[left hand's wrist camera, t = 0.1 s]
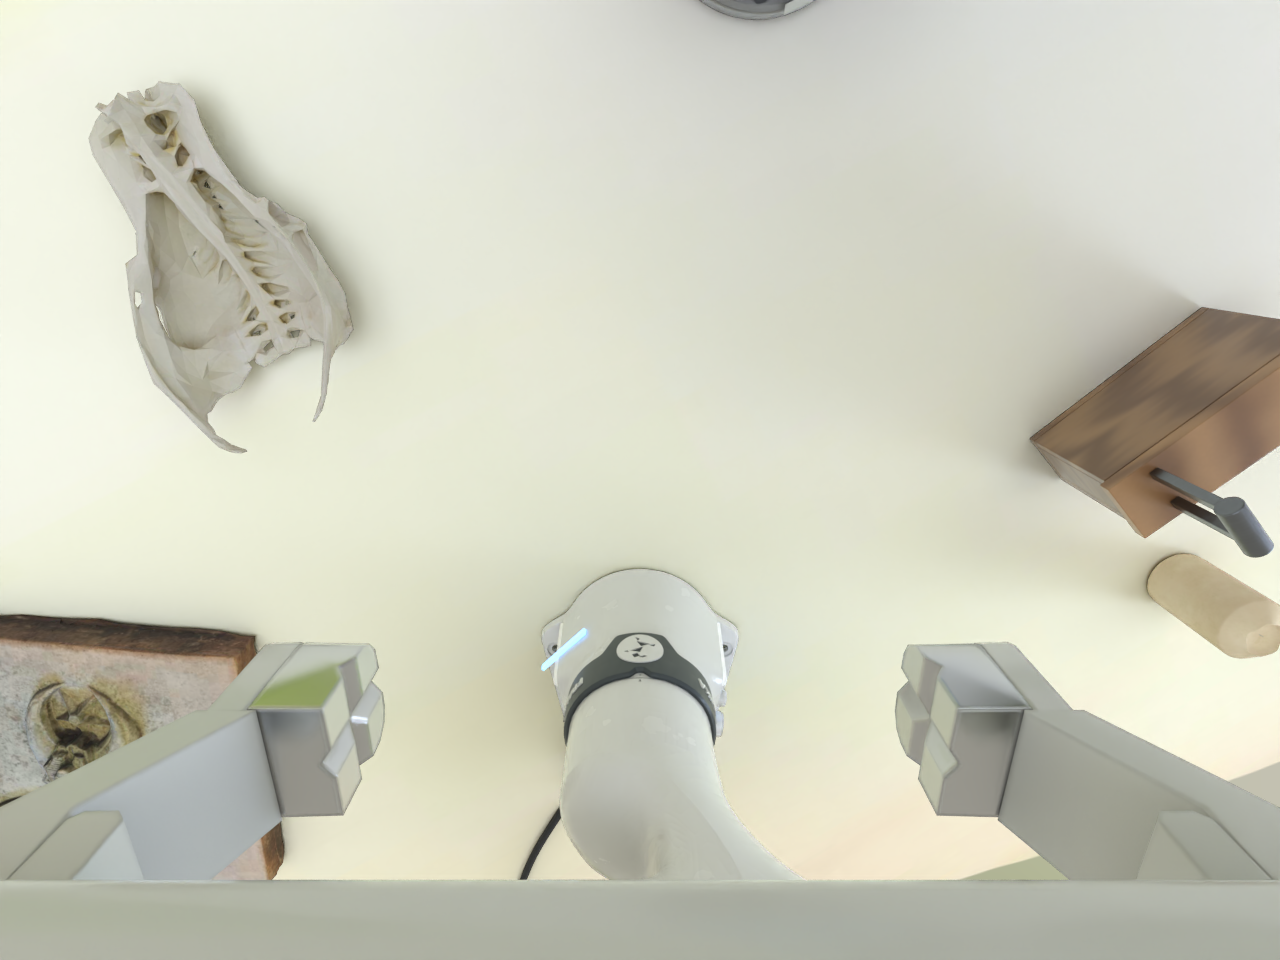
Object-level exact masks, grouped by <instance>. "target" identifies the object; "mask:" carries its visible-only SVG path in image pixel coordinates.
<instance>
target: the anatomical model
mask: <svg viewBox="0 0 1280 960" xmlns="http://www.w3.org/2000/svg"><path fill="white" fill-rule="evenodd" d="M127 94H128V98H129V99H127V98H126V97H124V96H122V95H121V94H119V93H117V95H116V97H115V99H114V100H112V102H111V103H110V104H109V105H108V106H106V105H104V104H101V103H98V104H97V105H96V108H97V109H98V110H100V111H101V112H102V113H101V114H100V115H99V117H98V118H97V120H96V121H95V124H94V126H93V129H92V131H91V134H90V136H89V142H90V146H91V150H92V154H93V156H94V158H95V160H96V161H97V163H98V165H99V166H100V168H101V170H102V171H103V173H104V175H105V176H106V178H107V180H108V181H109V183H110V185H111V186H112V188H113V190H114V192H115V193H116V195H117V197H118V198H119V200H120V202H121V204H122V205H123V207H124V209H125V211H126V212H127V214H128V216H129V218H130V220H131V222H132V224H133V226H134V228H135V230H136V239H137V255H136V256H135V257H134V258H132V259H131V260H130V261H128V262H127V263H126V270H127V278H128V289H129V295H130V302H131V308H132V314H133V320H134V326H135V331H136V337H137V340H138V343H139V346H140V349H141V351H142V354H143V357H144V360H145V363H146V365H147V368H148V371H149V373H150V376H151V378H152V381H153V383H154V384H155V385H156V386H157V387H158V388H159V389H160V390H161V391H162V392H163V393H165V394H166V395H167V396H168V397H169V398H170V399H171V400H172V401H173V402H174V403H175V404H176V405H177V406H178V407H179V408H180V409H181V410H182V411H183V412H184V413H185V414H186V415H187V416H188V417H189V418H190V419H191V420H192V421H193V422H194V423H195V424H196V425H197V427H198V428H199V429H200V430H201V431H202V432H203V433H204V434H205V435H206V436H207V437H208V438H210V439H211V440H212V441H213V442H214V443H215V444H216V445H217V446H218V447H219V448H222V449H224V450H227V451H229V452H233V453H244V452H247V450H246V449H242V448H239V447H237V446H234V445H231V444H230V443H228V442H227V441H226V440H224V439H222V438H220V437H219V436H217V435H216V433H215V431H214V429H213V428H212V427H211V425H210V424H209V423H208V416H207V414H208V413H209V412H210V411H212V409H213V408H214V406H215V404H216V402H217V401H218V400H219V399H220V398H222V397H223V396H224V395H225V394H227V393H233V392H235V391H236V390H238V389H240V388H241V386H242V384H243V382H244V380H245V379H246V377H247V375H248V374H249V372H250V370H251V369H252V367H251V365H250V364H249V363H248V362H250V361H251V360H253V359H255V363H256V364H259V365H261V366H263V367H265V366H267V365H268V364H270V363H271V362H273V361H274V360H276V359H277V358H278V357H280V356H281V355H282V354H289V353H290V352H291V351H292V350H293V349H294V348H299V347H308V346H311V341H310V338H311V339H313V340H317V341H320V342H323V343H324V348H323V365H322V387H321V397H320V400H319V403H318V407H317V410H316V413H315V416H314V419H313V421H312V422H315V421H316V419H317V418H318V416H319V414H320V413H321V411H322V409H323V405H324V402H325V398H326V394H327V385H328V380H329V375H330V374H329V368H330V361H331V358H332V356H333V354H334V353H335V350H337V348H338V347H339V346H340V345H342V344H344V343H345V342H346V340H347V339H348V338H349V336H350V333H351V332H352V331H353V326H352V322H351V318H350V314H349V310H348V306H347V302H346V294H345V292H344V290H343V288H342V286H341V284H340V282H339V280H338V279H337V278H336V276H335V275H334V273H333V272H332V271H331V269H330V268H329V266H328V264H327V263H326V261H325V260H324V258H323V256H322V255H321V253H320V252H319V250H318V249H317V247H316V245H315V244H314V242H313V241H312V239H311V237H310V236H309V234H308V231H307V224H306V223H305V222H304V221H302V220H301V219H299V218H297V217H295V216H292V215H290V214H288V213H286V212H285V211H284V210H283V209H282V208H281V207H280V206H279V205H278V204H277V203H274V202H271V201H269V200H268V199H267V198H265V197H255V196H254V195H252V194H251V193H249V192H248V191H246V190H245V189H244V188H243V187H241V186H240V184H239V183H238V181H237V180H236V179H235V177H234V176H233V175H232V173H231V172H230V170H229V169H228V168H227V166H226V165H225V163H224V162H223V161H222V159H221V158H220V156H219V155H218V154H217V152H216V151H215V149H214V148H213V146H212V144H211V142H210V139H209V137H208V135H207V133H206V131H205V129H204V127H203V125H202V123H201V120H200V117H199V114H198V110H197V107H196V104H195V100H194V99H193V98H192V97H191V96H190V95H189V94H188V93H187V92H186V90H185V89H184V88H183V87H182V86H181V85H180V84H174V83H166V82H161V81H158V83H157V84H156V86H155V87H152V88H149V89H146V91H145V99H144V98H143V96H142V95H141V93H140V92H139V91H132V92H127ZM199 172H200V173H199ZM206 181H207V183H208V185H209V187H210V188H207V187H204V185H205V182H206ZM213 196H215V197H216V198H212V197H213ZM219 204H220V205H221V207H222V208H223V209H224V210H223V209H221V208H219ZM255 220H257V221H258V223H257V222H256V221H255ZM196 250H197V251H196ZM195 251H196V252H195ZM194 252H195V254H194ZM193 255H194V256H193ZM135 292H139V293H141V300H142V302H141V304H140V305H139V307H138V308H137V307H136V305H135ZM156 306H158V308H159V310H160V311H161V314H162V318H163V321H164V325H165V328H166V330H167V332H166V331H165V329H164V327H163V325H162V323H161V322H160V319H159V314H158V310H157V308H156ZM292 315H295V317H294V318H293V319H292V318H291V316H292ZM253 318H254V319H255V320H253ZM296 330H300V333H299V336H298V337H295V338H294V337H293V336H292V334H291V332H292V331H296ZM258 331H260V334H261V335H258V334H255V332H258ZM167 333H168V334H167ZM168 335H169V336H168ZM169 337H170V338H169ZM270 341H272V343H273V347H272V348H270V349H269V350H267V351H265V350H264V349H263V348H264V347H265V346H266V345H267V344H268V343H269V342H270Z"/></svg>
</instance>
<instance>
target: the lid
mask: <svg viewBox="0 0 1280 960" xmlns="http://www.w3.org/2000/svg"><path fill="white" fill-rule="evenodd" d="M1279 446H1280V355H1279V356H1278V357H1276V358H1275V359H1274V360H1272V361H1271V362H1269V363H1268V364H1267V365H1265V366H1264V367H1262V368H1261V369H1260V370H1258V371H1257V372H1256V373H1254V374H1253V375H1251V376H1250V377H1249V378H1247V379H1246V380H1244V381H1243V382H1242V383H1240V384H1239V385H1238V386H1236V387H1235V388H1233V389H1232V390H1231V391H1229V392H1228V393H1226V394H1225V395H1224V396H1222V397H1221V398H1220V399H1218V400H1217V401H1215V402H1214V403H1213V404H1211V405H1210V406H1208V407H1207V408H1206V409H1204V410H1203V411H1202V412H1200V413H1199V414H1197V415H1196V416H1195V417H1193V418H1192V419H1190V420H1189V421H1188V422H1186V423H1185V424H1184V425H1182V426H1181V427H1179V428H1178V429H1177V430H1175V431H1174V432H1172V433H1171V434H1170V435H1168V436H1167V437H1166V438H1164V439H1163V440H1161V441H1160V442H1159V443H1157V444H1156V445H1154V446H1153V447H1152V448H1150V449H1149V450H1148V451H1146V452H1145V453H1143V454H1142V455H1141V456H1139V457H1138V458H1136V459H1135V460H1134V461H1132V462H1131V463H1129V464H1128V465H1127V466H1125V467H1124V468H1123V469H1121V470H1120V471H1118V472H1117V473H1116V474H1114V475H1113V476H1111V477H1110V478H1109V479H1107V480H1106V481H1105V482H1103V483H1102V484H1100V486H1101V488H1102V489H1103V490H1104V492H1105V493H1106V494H1107V496H1108V497H1109V498H1110V499H1111V501H1112V502H1113V503H1114V505H1115V506H1116V507H1117V509H1118V510H1119V511H1120V513H1121V514H1122V515H1123V516H1124V518H1125V519H1126V520H1127V522H1128V523H1129V524H1130V526H1131V527H1132V528H1133V530H1134V531H1135V532H1136V533H1137V534H1139V535H1141V536H1142V537H1144V538H1146V537H1148V536H1149V535H1151V534H1152V533H1154V532H1155V531H1157V530H1158V529H1160V528H1161V527H1162V526H1164V525H1165V524H1167V523H1168V522H1170V521H1171V520H1173V519H1174V518H1176V517H1177V516H1178V515H1180V514H1181V513H1185V514H1187V515H1189V516H1190V517H1192V518H1194V519H1196V520H1198V521H1200V522H1202V523H1203V524H1205V525H1207V526H1209V527H1211V528H1213V529H1214V530H1216V531H1218V532H1220V533H1222V534H1224V535H1226V536H1227V537H1229V538H1231V539H1233V540H1235V542H1236V543H1237V545H1238V546H1239V547H1240V549H1241V550H1242V552H1243V553H1244V554H1245V555H1247V556H1249V557H1262V556H1265V555H1267V554H1269V553H1270V552H1271V551H1272V550H1273V547H1274V544H1273V542H1272V541H1271V539H1270V538H1269V536H1268V535H1267V533H1266V532H1265V530H1264V529H1263V527H1262V526H1261V525H1260V523H1259V522H1258V520H1257V519H1256V517H1255V516H1254V514H1253V513H1252V512H1251V510H1250V509H1249V507H1248V506H1247V504H1246V503H1245V501H1244V500H1243V499H1241V498H1239V497H1228V498H1224V499H1223V498H1221V497H1219V496H1217V495H1215V494H1213V493H1212V492H1213V491H1215V490H1216V489H1218V488H1219V487H1221V486H1222V485H1224V484H1225V483H1226V482H1228V481H1229V480H1231V479H1232V478H1234V477H1235V476H1237V475H1238V474H1240V473H1241V472H1242V471H1244V470H1245V469H1247V468H1248V467H1250V466H1251V465H1253V464H1254V463H1256V462H1257V461H1258V460H1260V459H1261V458H1263V457H1264V456H1266V455H1267V454H1269V453H1270V452H1272V451H1273V450H1274V449H1276V448H1277V447H1279ZM1197 502H1199V503H1201V504H1203V505H1205V506H1207V507H1209V508H1211V509H1213V510H1214V512H1215V514H1216V515H1215V514H1213V513H1211V512H1209V511H1207V510H1205V509H1203V508H1201V507H1199V506H1197V505H1195V504H1196V503H1197Z"/></svg>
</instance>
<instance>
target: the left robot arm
mask: <svg viewBox="0 0 1280 960" xmlns="http://www.w3.org/2000/svg"><path fill="white" fill-rule="evenodd" d="M738 639H739V638H738V630H737V628H736V627H735V626H734V625H733V624H732V623H731V622H729V621H728V620H726V619H724V618H722V617H721V616H719V615H717V614H715V613H714V612H713V611H712V609H711V608H710V607H709V606H708V604H707V603H706V601H705V600H704V599H703V597H702V596H701V595H700V594H699V593H698V592H697V591H696V590H695V589H694V588H693V587H692V586H691V585H689V584H688V583H686V582H685V581H683V580H681V579H680V578H678V577H676V576H673V575H671V574H668V573H665V572H661V571H657V570H650V569H630V570H623V571H619V572H615V573H612V574H609V575H607V576H605V577H602V578H601V579H599V580H597V581H595V582H594V583H592V584H591V585H590V586H588V587H587V588H586V589H585V590H584V591H583V592H582V593H581V594H580V595H579V596H578V597H577V599H576V600H575V602H574V603H573V604H572V606H571V607H570V608H569V610H568V611H567V612H566V613H565V614H563V615H561V616H559V617H558V618H556V619H554V620H553V621H551V622H550V623H548V624H547V625H546V626H545V627H544V628H543V630H542V644H543V647H544V650H545V654H546V657H547V661H546V662H545V663H543V664H542V668H541V669H542V670H543V671H544V670H545V669H547V668H548V667H549V668H550V671H551V674H552V678H553V681H554V685H555V688H556V692H557V695H558V698H559V702H560V705H561V709H562V712H563V716H564V721H563V722H565V723H564V738H565V744H566V747H567V748H566V755H565V762H564V770H563V777H562V784H561V791H560V800H559V805H560V807H559V809H558V810H557V812H556V813H555V815H554V816H553V818H552V819H551V821H550V822H549V824H548V825H547V827H546V829H545V830H544V832H543V833H542V835H541V837H540V838H539V840H538V842H537V843H536V845H535V847H534V849H533V850H532V852H531V854H530V856H529V858H528V861H527V863H526V865H525V868H524V870H523V873H522V875H521V878H520V880H211V879H212V878H214V877H215V876H216V875H217V874H218V873H220V872H221V871H222V870H223V869H224V868H226V867H227V866H228V865H229V864H230V863H232V862H233V861H234V860H235V859H236V858H238V857H239V856H240V855H241V854H242V853H244V852H245V851H246V850H247V849H248V848H250V847H251V846H252V845H253V844H254V843H256V842H257V841H258V840H259V839H260V838H262V837H263V836H264V835H265V834H266V833H268V832H269V831H270V830H271V829H272V828H274V827H275V826H276V825H277V824H278V823H280V822H281V821H282V817H304V816H338V815H344V813H345V811H346V809H347V807H348V805H349V803H350V801H351V799H352V797H353V795H354V793H355V791H356V789H357V787H358V785H359V783H360V781H361V779H362V777H361V771H360V765H361V764H362V763H364V762H365V761H367V760H368V759H369V758H371V757H372V756H373V755H374V753H375V751H376V749H377V747H378V745H379V743H380V740H381V735H382V731H383V726H384V720H385V705H384V698H383V692H382V691H381V690H380V689H379V688H378V687H377V686H376V685H375V684H374V683H373V682H372V679H373V677H374V675H375V674H376V672H377V670H378V668H379V666H378V661H377V656H376V651H375V649H374V648H373V647H372V646H371V645H370V644H355V643H307V642H306V643H302V642H274V643H270V644H267V645H265V646H264V647H263V648H262V649H261V650H260V651H259V652H258V653H257V655H256V656H255V657H254V658H253V659H252V660H251V661H250V662H249V664H248V665H247V666H246V667H245V668H244V669H243V670H242V671H241V672H240V674H239V675H238V676H237V677H236V678H235V679H234V680H233V681H232V683H231V684H230V685H229V686H228V687H227V688H226V689H225V690H224V692H223V693H222V694H221V695H220V696H219V697H218V698H217V699H216V700H215V702H214V703H213V704H212V705H211V706H210V707H209V708H208V709H207V710H195V711H193V712H191V713H189V714H187V715H185V716H183V717H181V718H179V719H177V720H175V721H173V722H171V723H169V724H167V725H165V726H163V727H161V728H159V729H157V730H155V731H153V732H151V733H149V734H147V735H145V736H143V737H141V738H139V739H137V740H135V741H133V742H131V743H129V744H127V745H125V746H123V747H121V748H119V749H117V750H115V751H113V752H111V753H109V754H107V755H105V756H103V757H101V758H99V759H96V760H94V761H92V762H90V763H88V764H86V765H84V766H82V767H80V768H78V769H76V770H74V771H72V772H70V773H68V774H66V775H64V776H62V777H60V778H58V779H56V780H54V781H52V782H50V783H48V784H46V785H44V786H42V787H40V788H38V789H36V790H34V791H32V792H30V793H28V794H26V795H24V796H22V797H20V798H18V799H16V800H14V801H12V802H10V803H8V804H6V805H4V806H2V807H0V960H1280V807H1278V806H1276V805H1274V804H1272V803H1270V802H1268V801H1266V800H1264V799H1262V798H1260V797H1258V796H1256V795H1254V794H1252V793H1250V792H1248V791H1246V790H1244V789H1242V788H1240V787H1238V786H1236V785H1234V784H1232V783H1230V782H1228V781H1226V780H1223V779H1221V778H1219V777H1217V776H1215V775H1213V774H1211V773H1209V772H1207V771H1205V770H1203V769H1201V768H1199V767H1197V766H1195V765H1193V764H1191V763H1189V762H1187V761H1185V760H1183V759H1181V758H1179V757H1177V756H1175V755H1173V754H1171V753H1169V752H1167V751H1165V750H1163V749H1161V748H1159V747H1157V746H1155V745H1153V744H1151V743H1149V742H1147V741H1145V740H1143V739H1141V738H1139V737H1137V736H1135V735H1133V734H1131V733H1129V732H1127V731H1125V730H1123V729H1121V728H1119V727H1117V726H1115V725H1113V724H1111V723H1109V722H1107V721H1105V720H1103V719H1101V718H1099V717H1097V716H1095V715H1093V714H1091V713H1089V712H1087V711H1085V710H1073V709H1072V708H1071V707H1070V706H1069V705H1068V704H1067V703H1066V702H1065V700H1064V699H1063V698H1062V697H1061V696H1060V695H1059V694H1058V693H1057V692H1056V690H1055V689H1054V688H1053V687H1052V686H1051V685H1050V684H1049V683H1048V681H1047V680H1046V679H1045V678H1044V677H1043V676H1042V675H1041V674H1040V672H1039V671H1038V670H1037V669H1036V668H1035V667H1034V666H1033V665H1032V664H1031V662H1030V661H1029V660H1028V659H1027V658H1026V657H1025V656H1024V655H1023V653H1022V652H1021V651H1020V650H1019V649H1018V648H1017V647H1016V646H1015V645H1013V644H1011V643H1009V642H989V643H974V644H922V645H908V646H907V648H906V650H905V652H904V655H903V660H902V666H901V668H902V670H903V672H904V674H905V675H906V677H907V679H908V682H907V683H906V684H905V685H904V686H903V687H902V688H901V689H900V690H899V691H898V692H897V699H896V707H895V716H896V728H897V732H898V736H899V739H900V743H901V745H902V747H903V749H904V751H905V753H906V755H907V756H908V757H909V758H911V759H912V760H913V761H915V762H916V763H918V764H919V765H920V771H919V777H918V779H919V781H920V783H921V785H922V787H923V789H924V791H925V793H926V795H927V797H928V799H929V801H930V803H931V805H932V807H933V809H934V811H935V813H936V815H940V816H975V817H998V821H1000V822H1001V823H1002V824H1003V825H1004V826H1006V827H1007V828H1008V829H1009V830H1010V831H1012V832H1013V833H1014V834H1015V835H1016V836H1018V837H1019V838H1020V839H1021V840H1022V841H1024V842H1025V843H1026V844H1027V845H1028V846H1030V847H1031V848H1032V849H1033V850H1034V851H1036V852H1037V853H1038V854H1039V855H1040V856H1041V857H1043V858H1044V859H1045V860H1046V861H1047V862H1049V863H1050V864H1051V865H1052V866H1053V867H1055V868H1056V869H1057V870H1058V871H1059V872H1061V873H1062V874H1063V875H1064V876H1065V877H1067V878H1068V879H1069V880H806V879H805V878H803V877H801V876H800V875H798V874H797V873H795V872H794V871H792V870H791V869H790V868H788V867H787V866H786V865H784V864H783V863H782V862H780V861H779V860H778V859H777V858H776V857H775V856H773V855H772V854H771V853H770V852H769V851H768V850H767V849H766V848H765V847H764V846H763V845H761V844H760V843H759V842H758V841H757V840H756V839H755V837H754V836H753V835H752V834H751V833H750V832H749V831H748V830H747V829H746V827H745V826H744V825H743V824H742V822H741V821H740V820H739V819H738V817H737V816H736V814H735V813H734V811H733V810H732V808H731V806H730V804H729V802H728V801H727V799H726V796H725V793H724V790H723V787H722V783H721V779H720V775H719V771H718V767H717V763H716V757H715V752H714V744H715V739H716V737H720V736H721V735H722V732H723V725H724V716H723V713H722V712H721V711H718V709H719V706H725V705H726V699H727V693H726V691H724V689H725V685H726V682H727V678H728V675H729V672H730V668H731V665H732V661H733V658H734V654H735V651H736V648H737V644H738ZM554 645H557V648H555V647H554ZM723 645H726V647H725V648H723ZM560 818H561V819H562V822H563V825H564V828H565V831H566V833H567V835H568V837H569V838H570V840H571V842H572V843H573V845H574V847H575V848H576V849H577V851H578V852H579V854H580V855H581V857H582V858H583V859H584V860H585V861H586V863H587V864H588V865H589V866H590V867H591V868H593V869H594V870H595V871H596V872H598V873H599V874H601V875H602V876H604V877H605V878H607V879H609V880H527V878H528V875H529V873H530V870H531V868H532V866H533V864H534V862H535V859H536V857H537V856H538V854H539V852H540V850H541V848H542V847H543V845H544V843H545V842H546V840H547V839H548V837H549V835H550V834H551V832H552V831H553V829H554V828H555V826H556V825H557V823H558V821H559V820H560Z"/></svg>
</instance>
